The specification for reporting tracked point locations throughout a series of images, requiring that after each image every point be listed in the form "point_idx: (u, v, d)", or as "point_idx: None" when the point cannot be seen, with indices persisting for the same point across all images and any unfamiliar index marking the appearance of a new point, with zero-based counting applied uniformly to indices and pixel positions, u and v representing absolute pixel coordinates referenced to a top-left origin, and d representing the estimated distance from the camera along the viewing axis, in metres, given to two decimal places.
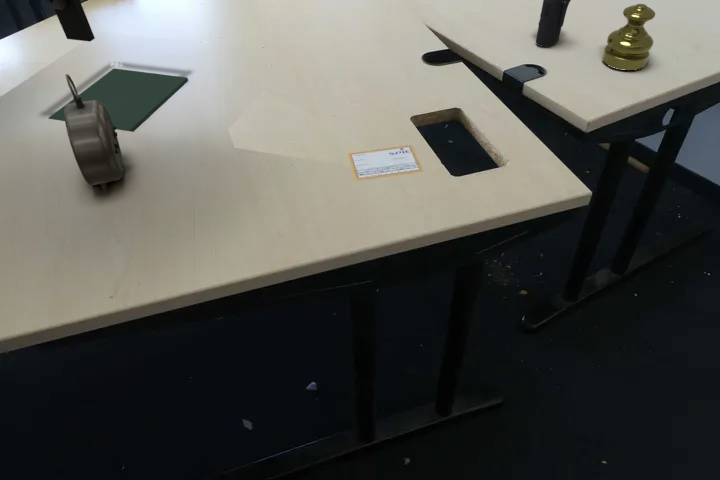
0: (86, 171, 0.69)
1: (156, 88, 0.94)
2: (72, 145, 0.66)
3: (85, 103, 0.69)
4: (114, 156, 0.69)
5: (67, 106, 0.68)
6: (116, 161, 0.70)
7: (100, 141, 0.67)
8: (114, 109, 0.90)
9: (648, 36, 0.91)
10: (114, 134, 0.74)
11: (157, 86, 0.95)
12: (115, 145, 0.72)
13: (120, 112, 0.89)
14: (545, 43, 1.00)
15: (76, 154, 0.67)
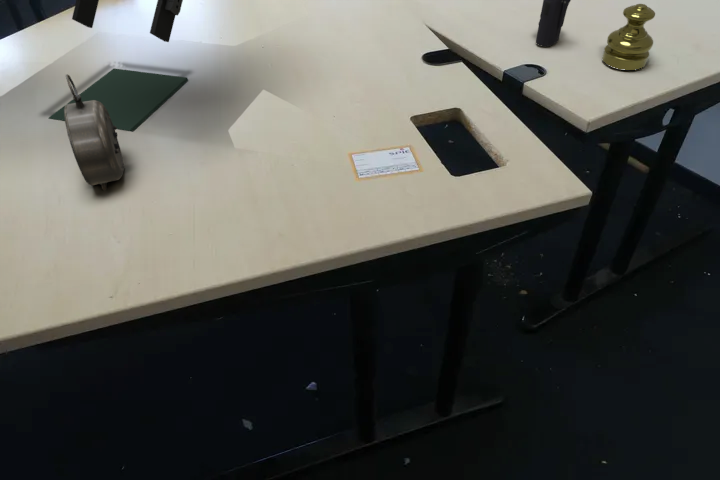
0: (86, 171, 0.69)
1: (156, 88, 0.94)
2: (72, 145, 0.66)
3: (85, 103, 0.69)
4: (114, 156, 0.69)
5: (67, 106, 0.68)
6: (116, 161, 0.70)
7: (100, 141, 0.67)
8: (114, 109, 0.90)
9: (648, 36, 0.91)
10: (114, 134, 0.74)
11: (157, 86, 0.95)
12: (115, 145, 0.72)
13: (120, 112, 0.89)
14: (545, 43, 1.00)
15: (76, 154, 0.67)
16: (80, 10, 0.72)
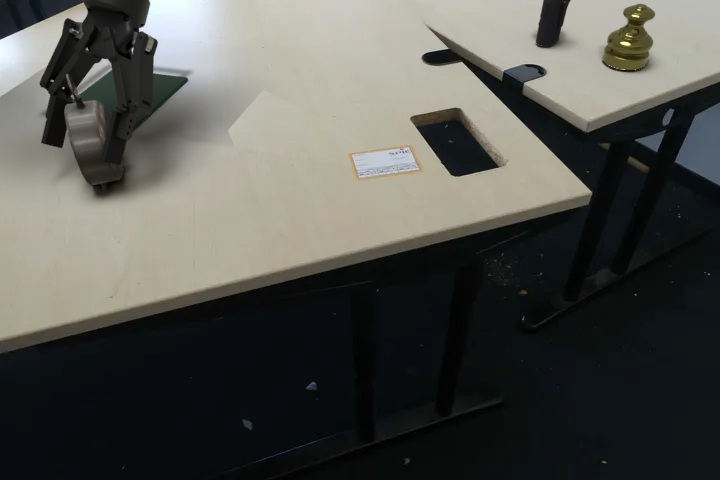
0: (87, 171, 0.69)
1: (156, 88, 0.94)
2: (72, 146, 0.66)
3: (85, 103, 0.69)
4: None
5: (67, 107, 0.68)
6: None
7: (100, 141, 0.67)
8: (114, 109, 0.90)
9: (648, 36, 0.91)
10: None
11: (157, 86, 0.95)
12: None
13: None
14: (545, 43, 1.00)
15: (76, 154, 0.67)
16: (50, 133, 0.71)
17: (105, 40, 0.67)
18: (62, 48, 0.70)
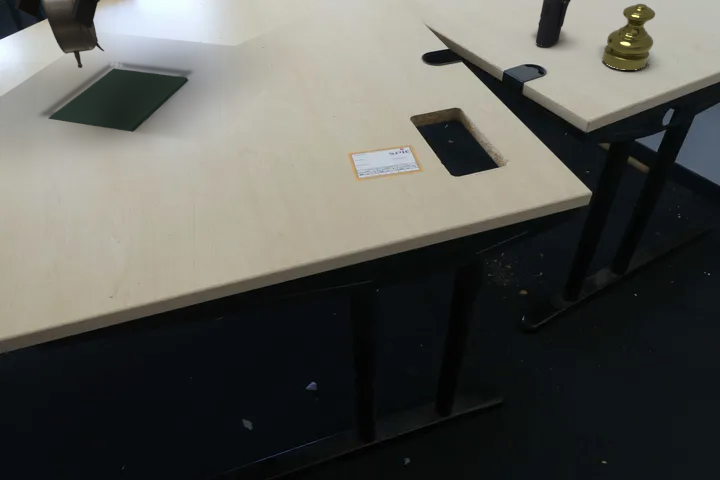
0: (58, 32, 0.71)
1: (156, 88, 0.94)
2: (43, 3, 0.68)
3: None
4: None
5: None
6: None
7: (71, 0, 0.69)
8: (114, 109, 0.90)
9: (648, 36, 0.91)
10: None
11: (157, 86, 0.95)
12: None
13: (120, 112, 0.89)
14: (545, 43, 1.00)
15: (47, 12, 0.69)
16: None
17: None
18: None
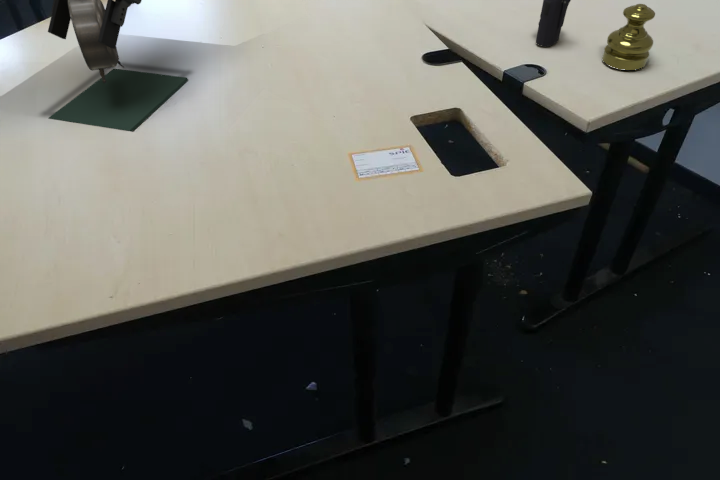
0: (87, 53, 0.81)
1: (156, 88, 0.94)
2: (74, 28, 0.79)
3: None
4: None
5: None
6: None
7: (98, 25, 0.80)
8: (114, 109, 0.90)
9: (648, 36, 0.91)
10: None
11: (157, 86, 0.95)
12: None
13: (120, 112, 0.89)
14: (545, 43, 1.00)
15: (78, 36, 0.80)
16: (55, 24, 0.83)
17: None
18: None
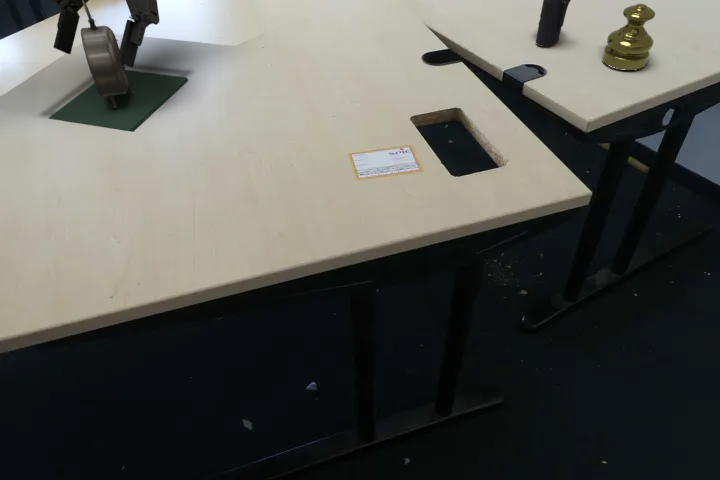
0: (99, 81, 0.85)
1: (156, 88, 0.94)
2: (87, 58, 0.83)
3: (97, 27, 0.85)
4: (121, 70, 0.86)
5: (83, 29, 0.84)
6: (122, 75, 0.86)
7: (110, 55, 0.84)
8: (114, 109, 0.90)
9: (648, 36, 0.91)
10: None
11: (157, 86, 0.95)
12: (121, 63, 0.88)
13: (120, 112, 0.89)
14: (545, 43, 1.00)
15: (90, 66, 0.83)
16: (60, 40, 0.87)
17: None
18: None
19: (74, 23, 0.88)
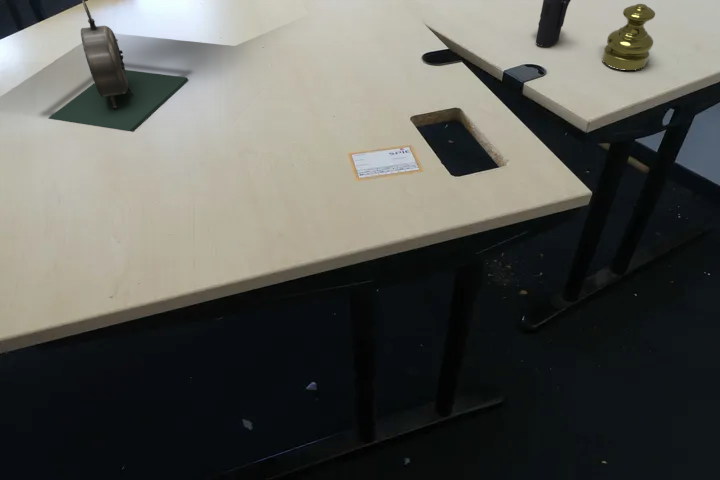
0: (99, 81, 0.85)
1: (156, 88, 0.94)
2: (87, 58, 0.83)
3: (97, 27, 0.85)
4: (121, 70, 0.86)
5: (83, 29, 0.84)
6: (122, 75, 0.86)
7: (110, 55, 0.84)
8: (114, 109, 0.90)
9: (648, 36, 0.91)
10: (120, 56, 0.90)
11: (157, 86, 0.95)
12: (121, 63, 0.88)
13: (120, 112, 0.89)
14: (545, 43, 1.00)
15: (90, 66, 0.83)
16: None
17: None
18: None
19: None
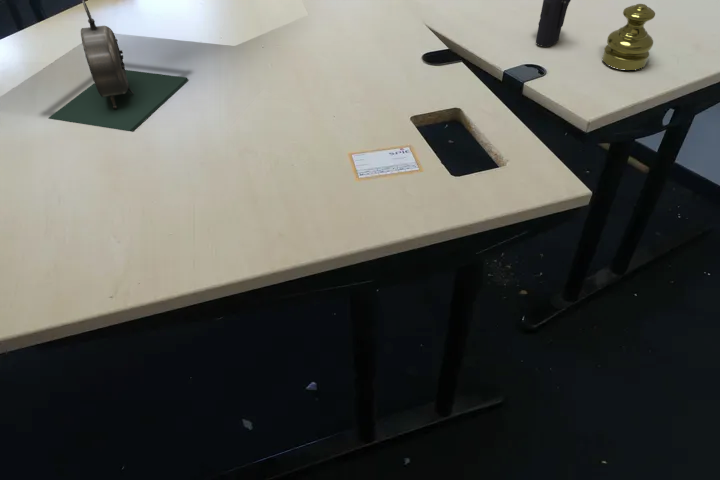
0: (99, 81, 0.85)
1: (156, 88, 0.94)
2: (87, 58, 0.83)
3: (97, 27, 0.85)
4: (121, 70, 0.86)
5: (83, 29, 0.84)
6: (122, 75, 0.86)
7: (110, 55, 0.84)
8: (114, 109, 0.90)
9: (648, 36, 0.91)
10: (120, 56, 0.90)
11: (157, 86, 0.95)
12: (121, 63, 0.88)
13: (120, 112, 0.89)
14: (545, 43, 1.00)
15: (90, 66, 0.83)
16: None
17: None
18: None
19: None
